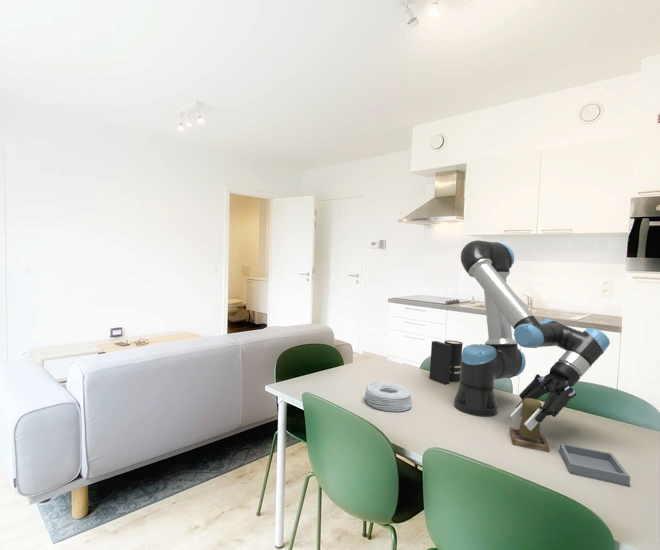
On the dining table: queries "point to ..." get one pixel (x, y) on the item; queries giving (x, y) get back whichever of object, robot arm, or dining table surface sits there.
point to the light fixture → (446, 361)
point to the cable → (388, 396)
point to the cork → (529, 409)
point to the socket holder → (532, 445)
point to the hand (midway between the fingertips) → (520, 423)
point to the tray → (593, 464)
